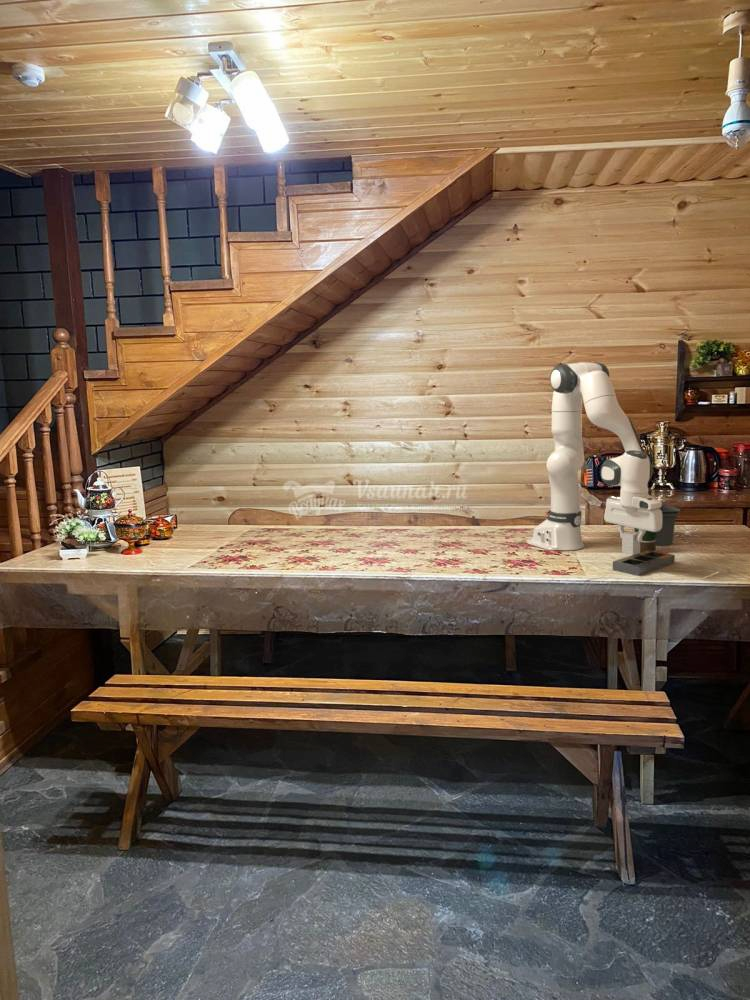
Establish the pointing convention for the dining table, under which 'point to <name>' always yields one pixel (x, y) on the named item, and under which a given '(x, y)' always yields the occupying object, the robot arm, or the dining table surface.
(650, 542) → the beer bottle
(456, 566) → the dining table surface
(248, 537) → the dining table surface
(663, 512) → the storage bin
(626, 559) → the grey tray
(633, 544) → the block
